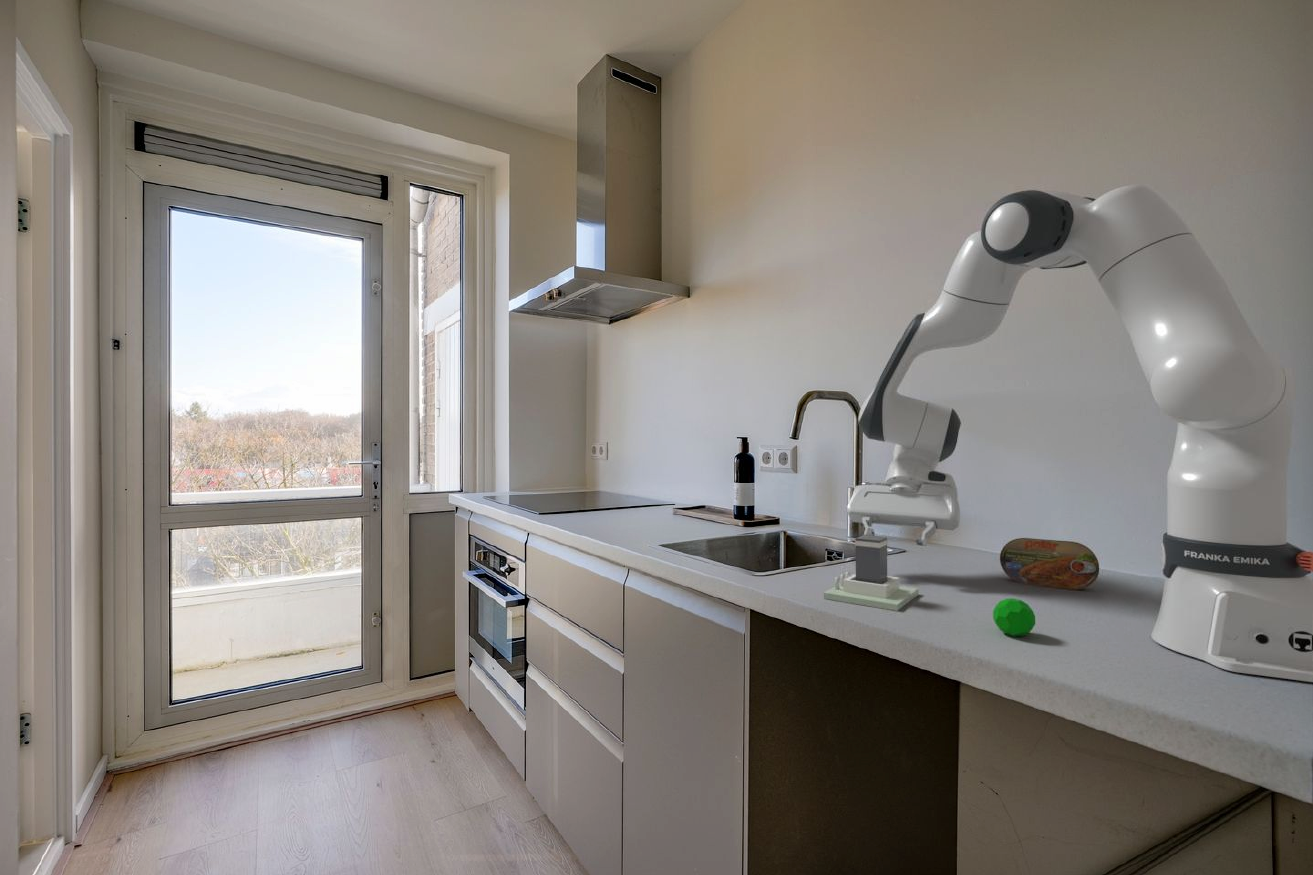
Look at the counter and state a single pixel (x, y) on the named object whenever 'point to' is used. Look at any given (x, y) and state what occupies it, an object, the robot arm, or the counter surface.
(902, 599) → the board
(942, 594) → the counter surface
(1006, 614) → the polyhedron
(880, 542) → the dark grey tall block
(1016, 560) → the tin
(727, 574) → the counter surface
